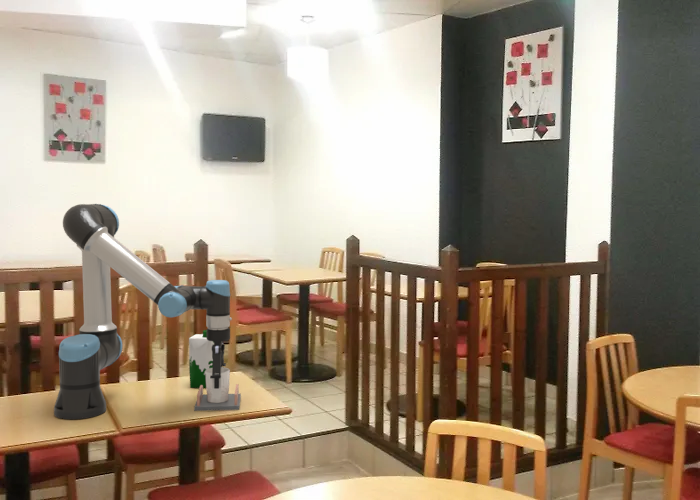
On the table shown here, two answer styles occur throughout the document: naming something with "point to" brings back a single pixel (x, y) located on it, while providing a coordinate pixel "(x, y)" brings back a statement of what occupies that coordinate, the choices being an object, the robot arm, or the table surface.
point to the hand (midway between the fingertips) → (218, 392)
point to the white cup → (224, 385)
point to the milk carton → (199, 359)
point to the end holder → (230, 404)
